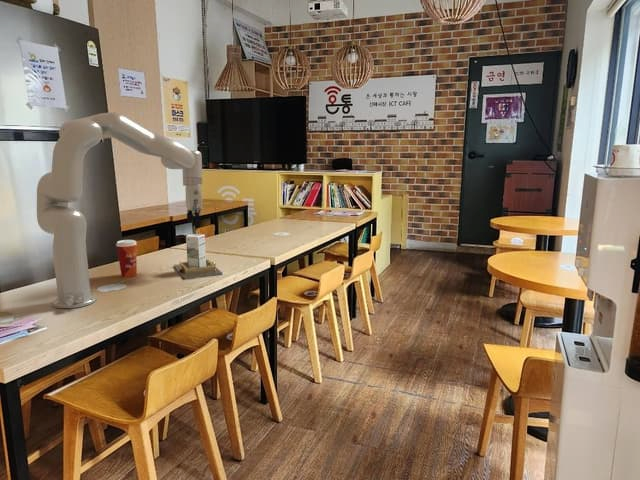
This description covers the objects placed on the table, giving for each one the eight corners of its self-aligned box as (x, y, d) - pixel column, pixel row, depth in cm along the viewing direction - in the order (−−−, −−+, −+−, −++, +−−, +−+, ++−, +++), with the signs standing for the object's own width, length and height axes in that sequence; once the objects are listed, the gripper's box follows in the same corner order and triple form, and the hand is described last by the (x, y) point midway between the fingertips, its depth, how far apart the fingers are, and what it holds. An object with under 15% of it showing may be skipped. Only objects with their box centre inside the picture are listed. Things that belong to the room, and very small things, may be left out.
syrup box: (206, 267, 191) (205, 233, 189) (199, 271, 186) (197, 236, 183) (194, 266, 193) (192, 233, 190) (187, 270, 187) (185, 235, 184)
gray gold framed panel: (222, 274, 184) (222, 267, 183) (184, 279, 177) (184, 272, 176) (208, 262, 203) (208, 256, 202) (174, 266, 196) (173, 259, 196)
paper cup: (132, 278, 178) (129, 243, 175) (114, 277, 180) (111, 242, 177) (143, 273, 186) (140, 239, 183) (126, 272, 187) (123, 239, 184)
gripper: (207, 183, 177) (208, 226, 180) (197, 180, 192) (198, 221, 195) (187, 183, 173) (189, 227, 176) (178, 180, 188) (180, 221, 191)
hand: (193, 224), depth 186 cm, fingers open, 9 cm apart
